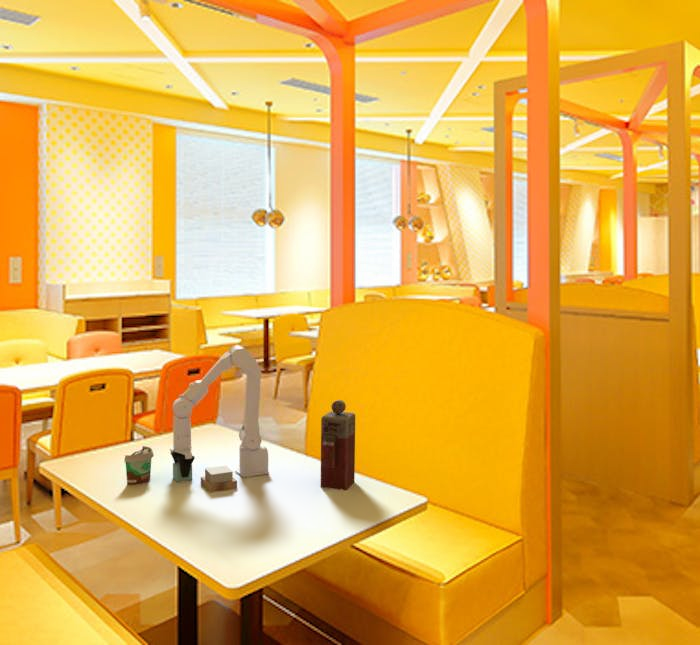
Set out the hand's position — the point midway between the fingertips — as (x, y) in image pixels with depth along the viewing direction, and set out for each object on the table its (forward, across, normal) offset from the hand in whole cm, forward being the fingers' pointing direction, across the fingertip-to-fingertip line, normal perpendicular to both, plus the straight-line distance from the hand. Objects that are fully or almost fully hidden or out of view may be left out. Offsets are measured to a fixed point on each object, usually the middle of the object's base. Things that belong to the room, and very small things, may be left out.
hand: (182, 474), depth 226 cm
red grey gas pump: (+2, +30, +42) cm, 52 cm away
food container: (+2, -4, -12) cm, 13 cm away
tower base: (+2, +13, +8) cm, 15 cm away
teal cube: (+1, 0, 0) cm, 1 cm away
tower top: (-1, +13, +8) cm, 15 cm away
